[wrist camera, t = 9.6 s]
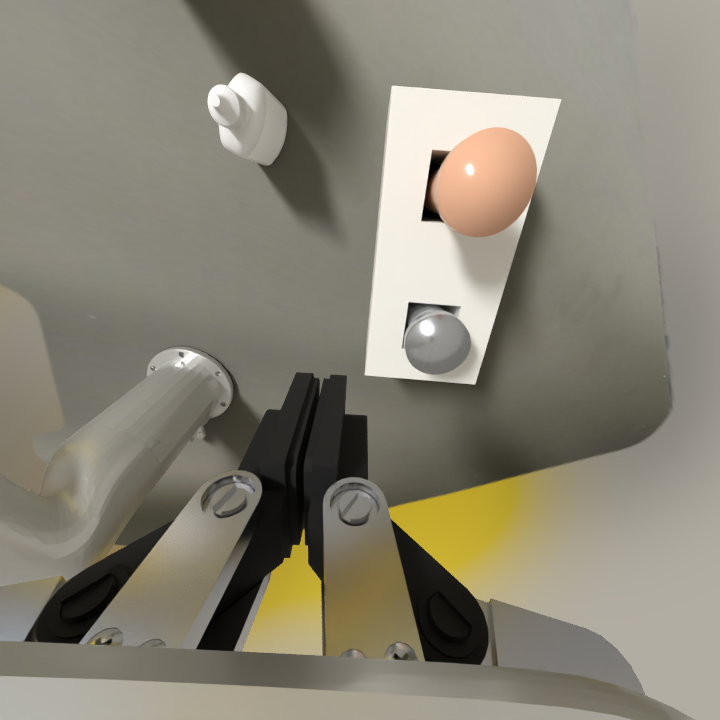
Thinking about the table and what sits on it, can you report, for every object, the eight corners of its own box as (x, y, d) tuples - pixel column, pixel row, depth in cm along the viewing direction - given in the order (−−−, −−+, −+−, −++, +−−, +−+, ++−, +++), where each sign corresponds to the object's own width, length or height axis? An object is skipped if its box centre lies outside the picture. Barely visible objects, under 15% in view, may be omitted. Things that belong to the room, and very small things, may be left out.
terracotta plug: (462, 224, 31) (518, 240, 19) (408, 219, 31) (430, 233, 19) (476, 160, 29) (552, 131, 16) (417, 155, 29) (449, 123, 16)
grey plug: (435, 321, 40) (462, 377, 27) (393, 318, 40) (401, 371, 27) (444, 279, 37) (478, 319, 25) (398, 275, 37) (410, 313, 25)
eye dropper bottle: (303, 136, 31) (266, 104, 21) (263, 172, 33) (210, 159, 22) (275, 91, 30) (220, 31, 19) (235, 131, 31) (163, 96, 21)
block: (453, 345, 41) (475, 384, 33) (367, 337, 41) (364, 375, 33) (506, 128, 30) (561, 99, 21) (387, 118, 30) (391, 85, 21)
